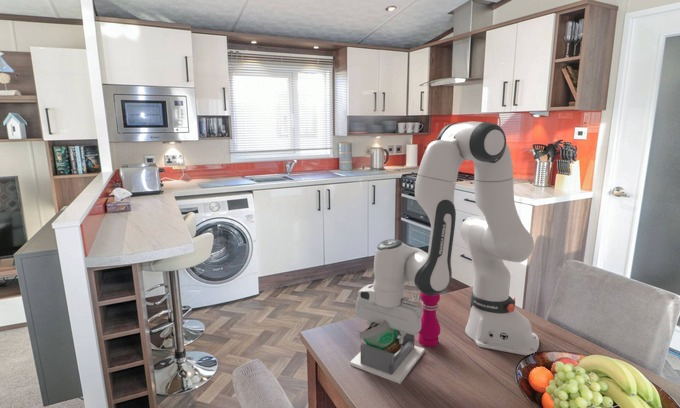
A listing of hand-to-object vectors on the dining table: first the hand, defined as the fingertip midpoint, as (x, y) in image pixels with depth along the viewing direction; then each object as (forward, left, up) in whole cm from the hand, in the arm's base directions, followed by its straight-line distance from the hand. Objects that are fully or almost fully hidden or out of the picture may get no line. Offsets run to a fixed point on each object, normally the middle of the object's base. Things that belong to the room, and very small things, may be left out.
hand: (386, 338), depth 117 cm
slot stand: (-1, 0, -7) cm, 7 cm away
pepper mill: (-8, -15, -7) cm, 18 cm away
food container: (-3, +1, -3) cm, 4 cm away
